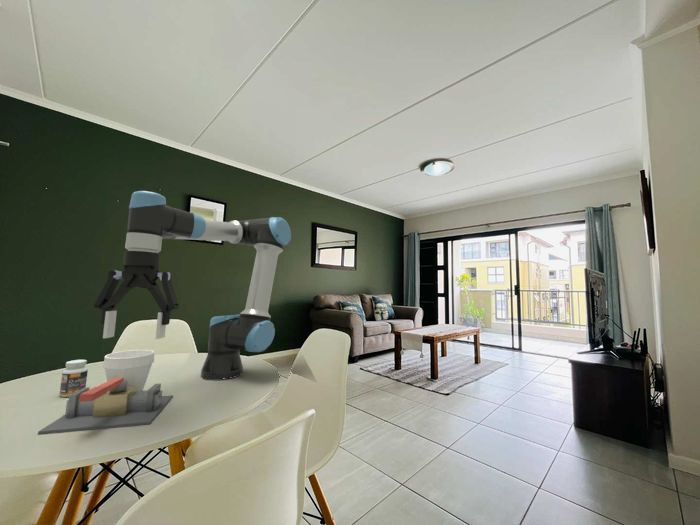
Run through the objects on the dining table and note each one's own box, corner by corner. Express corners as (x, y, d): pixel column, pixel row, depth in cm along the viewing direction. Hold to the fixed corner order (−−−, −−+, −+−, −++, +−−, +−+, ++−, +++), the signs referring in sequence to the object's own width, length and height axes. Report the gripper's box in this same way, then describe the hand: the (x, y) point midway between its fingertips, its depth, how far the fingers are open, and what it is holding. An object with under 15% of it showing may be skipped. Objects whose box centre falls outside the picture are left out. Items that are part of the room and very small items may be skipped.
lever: (114, 387, 78) (116, 375, 78) (129, 387, 78) (130, 374, 79) (75, 409, 64) (77, 394, 64) (93, 408, 64) (95, 393, 65)
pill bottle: (68, 398, 84) (73, 364, 85) (54, 396, 85) (58, 362, 86) (89, 392, 89) (93, 359, 90) (75, 390, 91) (79, 358, 91)
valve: (163, 402, 82) (165, 382, 82) (153, 412, 75) (155, 390, 76) (78, 408, 76) (81, 387, 77) (60, 420, 69) (63, 396, 70)
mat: (173, 397, 87) (173, 395, 87) (149, 424, 70) (150, 421, 70) (86, 403, 81) (86, 400, 81) (37, 434, 64) (38, 431, 64)
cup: (138, 407, 80) (143, 357, 81) (88, 410, 77) (93, 358, 79) (158, 391, 92) (161, 349, 93) (114, 394, 89) (119, 350, 91)
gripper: (197, 255, 78) (191, 335, 76) (104, 251, 75) (95, 334, 73) (184, 251, 70) (177, 341, 68) (81, 247, 68) (69, 339, 66)
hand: (134, 337), depth 71 cm, fingers open, 11 cm apart
